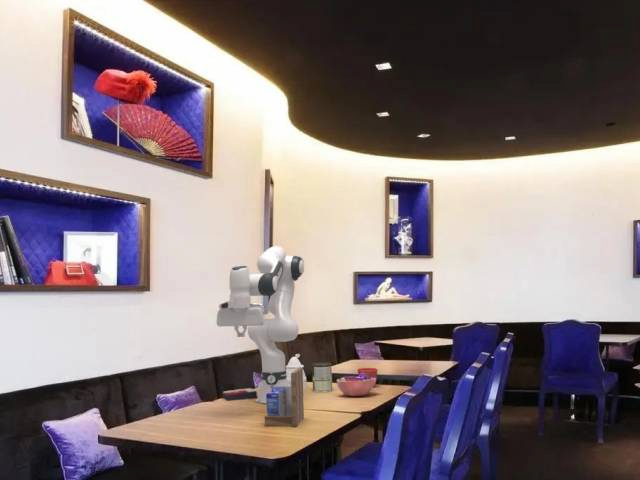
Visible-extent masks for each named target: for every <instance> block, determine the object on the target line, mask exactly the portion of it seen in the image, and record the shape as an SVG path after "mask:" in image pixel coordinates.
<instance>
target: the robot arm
mask: <svg viewBox="0 0 640 480" xmlns="http://www.w3.org/2000/svg"><path fill="white" fill-rule="evenodd" d="M256 267H257V270H258V271H259V273H250V270H249V266H247V265H239V266H233V267H231V268H230V271H229V273H230V274H229V282H228V283H229V285H228V286H229V290H230V294H229V300H227V301H225V302H221V303H219V305H218V308H219V310H218V311H217V313H216V325H217V327H219V328H220V327H233V328H234V330H235V332H236V337H237V338H245V335H246V332H247V335H248V337H249V339H250V340H251V341H253V343H255V345H256V346H257V348H258V350H259V353H260V356H261V368H262V369H261V370H262V371H261V373H260V375H261V381H260V382H259V383H258V386H257V387H258V391H257V398H254V402H255V403H261V404H267V402H266V394H267V393H268V392H269V391H271V387H270V386H271V385H273V386H274V387H279V386H289V383H288V381H287V379H286V378H287V373H286V355H285V353H284V352H283V351H282V350H280V349H279V348H277V346H276V344H275V343H286V342H290V341H294V340H296V338H297V337H298V334H299V325H298V323H297V322H296V320H294V319H293V317H292V316H291V315H292V314H291V309H292V303H293V299H294V294H295V282H297V281H298V280H299V278H300V277H302V275H303V273H304V272H305V261H304V259H303V258H302V257H301V256H299V255H298V256H297V255H294V256H293V255H287V253H286V251H285V249H284V248H283V247H281V246H280V245H274V246H271V247H269V248H268V249H266V250H265V251H263V252H262V253H261V254H260V256H259V257H258V259H257V262H256ZM257 296H258V297H262V296H263V297H269V301H268V304H267V308H268V311H269V312H270V313H271V314H272V315H273V316H274V317H273V318H265V314H264V313H265V306H264V305H263V304H261V303H251V300H252V298H251V297H257ZM240 327H242V329H243V330H242V332H240V330H239V329H240Z"/></svg>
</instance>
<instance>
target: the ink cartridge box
mask: <svg viewBox="0 0 640 480" xmlns="http://www.w3.org/2000/svg"><path fill="white" fill-rule="evenodd" d="M270 387H271V389H272V390H271V391H269V392H268V393H267V394H266V402H267V403H266V416H285V401H284V389H275V388H274V386H273V385H271V386H270ZM272 387H273V388H272Z"/></svg>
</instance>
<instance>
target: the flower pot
mask: <svg viewBox="0 0 640 480" xmlns="http://www.w3.org/2000/svg"><path fill="white" fill-rule="evenodd" d="M360 372H364V373H365V374H366V375H367V377H373V378H376V379H377V377H378V376H377V375H378V368H375V367H363V368H357V375H358V376H359V373H360ZM376 385H377V381H376V382H375V384H374V386H373V388H372V389H374V388H376Z"/></svg>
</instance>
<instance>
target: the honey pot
mask: <svg viewBox="0 0 640 480" xmlns="http://www.w3.org/2000/svg"><path fill="white" fill-rule="evenodd" d="M300 356H301V354H300V353H296V354H295V356H292V357H291V358H290V359H289V361H288V363H287V365H285V370H286V373H287V378H286V379H287V381H288V383H289V386H291V373H292V372H294V371H295V370H297V369H298V368H303V388H304V389H307V388H308V387H307V386H308V383H307V381H308V380H307V376H306V374H305V371H304V367H305V365H303V364H302V363H301V361H300V360H299V359H298V358H300ZM306 387H307V388H306Z"/></svg>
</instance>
